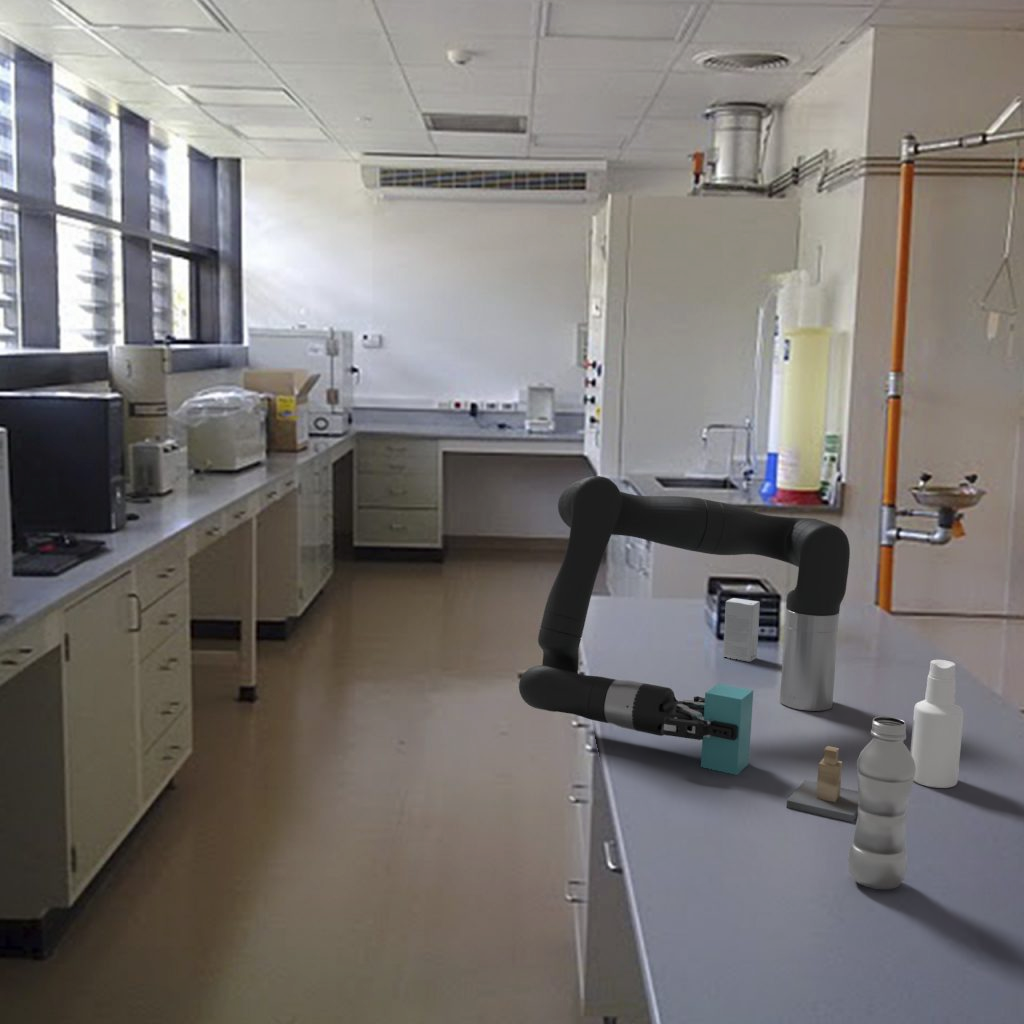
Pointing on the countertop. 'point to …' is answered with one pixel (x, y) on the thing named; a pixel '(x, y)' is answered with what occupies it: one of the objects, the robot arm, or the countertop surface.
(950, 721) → the spray bottle
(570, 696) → the robot arm
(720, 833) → the countertop surface
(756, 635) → the skincare box
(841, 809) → the post
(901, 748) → the plastic bottle
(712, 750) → the teal pillar
